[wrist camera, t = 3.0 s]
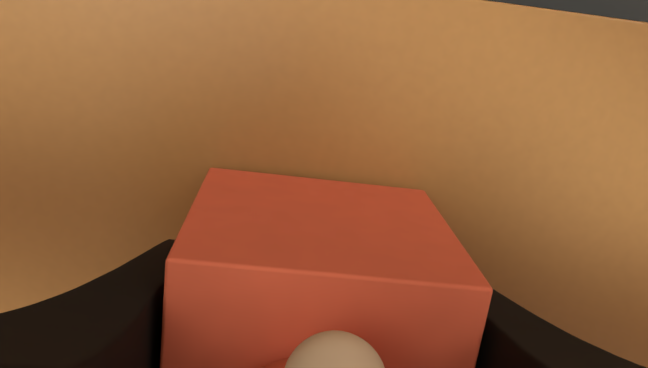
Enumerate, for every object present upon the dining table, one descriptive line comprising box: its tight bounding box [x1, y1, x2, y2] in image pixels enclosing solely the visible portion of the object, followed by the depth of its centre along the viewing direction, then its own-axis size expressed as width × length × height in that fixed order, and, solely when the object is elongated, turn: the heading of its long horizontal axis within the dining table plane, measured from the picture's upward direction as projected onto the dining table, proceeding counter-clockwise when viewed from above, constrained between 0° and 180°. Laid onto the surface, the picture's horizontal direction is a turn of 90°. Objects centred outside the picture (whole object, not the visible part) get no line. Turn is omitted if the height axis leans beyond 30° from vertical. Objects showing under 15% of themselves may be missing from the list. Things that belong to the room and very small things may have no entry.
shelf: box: [0, 0, 648, 368], centre depth 15 cm, size 12×18×6 cm, turn 83°
